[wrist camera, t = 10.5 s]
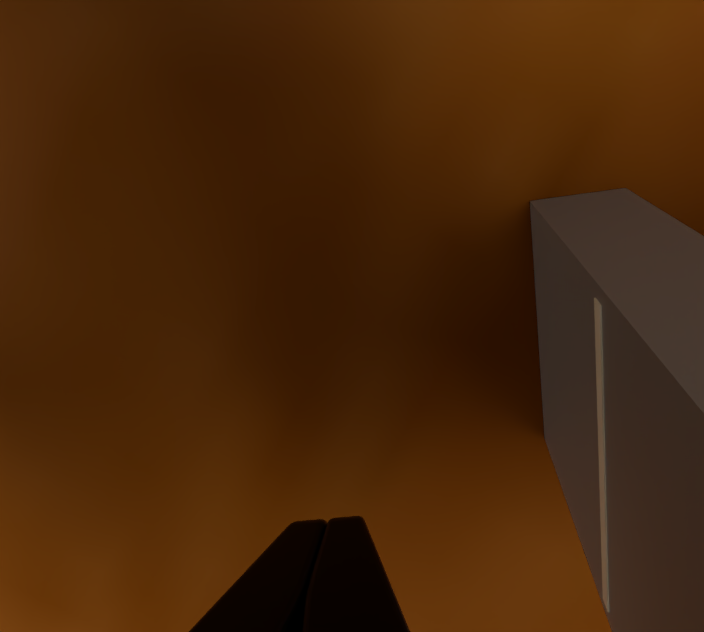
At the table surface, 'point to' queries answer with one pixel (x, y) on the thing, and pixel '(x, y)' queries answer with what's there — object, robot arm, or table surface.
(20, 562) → the table surface
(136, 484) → the table surface
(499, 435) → the table surface
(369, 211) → the table surface
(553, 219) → the grey domino block
